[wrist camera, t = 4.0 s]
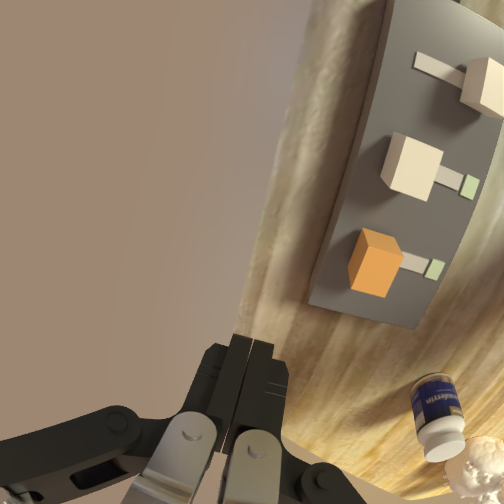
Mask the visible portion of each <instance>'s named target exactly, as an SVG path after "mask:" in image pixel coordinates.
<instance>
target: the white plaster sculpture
mask: <svg viewBox="0 0 504 504" xmlns="http://www.w3.org/2000/svg"><path fill="white" fill-rule="evenodd" d="M444 469H445V472H446V475H444V476H443V479H446V478H447V479H448V480H449V481H448V482H445V483H444V485H443V486H447V485H448V484H449V486H450V488H451V490H452V491H454V492H456V493H457V494H460V495H459V497H460V498H464V497H465V496H467V497H476V499H475V500H474V501H472V502H471V503H469V504H504V442H503V441H502V440H499V439H497V437H496V438H494V437H493V438H491V437H489V436H487V435H482V436H478V437H473V438H470V439H468V440H466V441H465V448H464V449H463V450H462V451H461V452H460V453H459V454H458V455H456V456H454V457H452V458H450V459H448V460H447V462H446V464H445V467H444ZM482 495H485V496H484V497H482Z"/></svg>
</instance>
